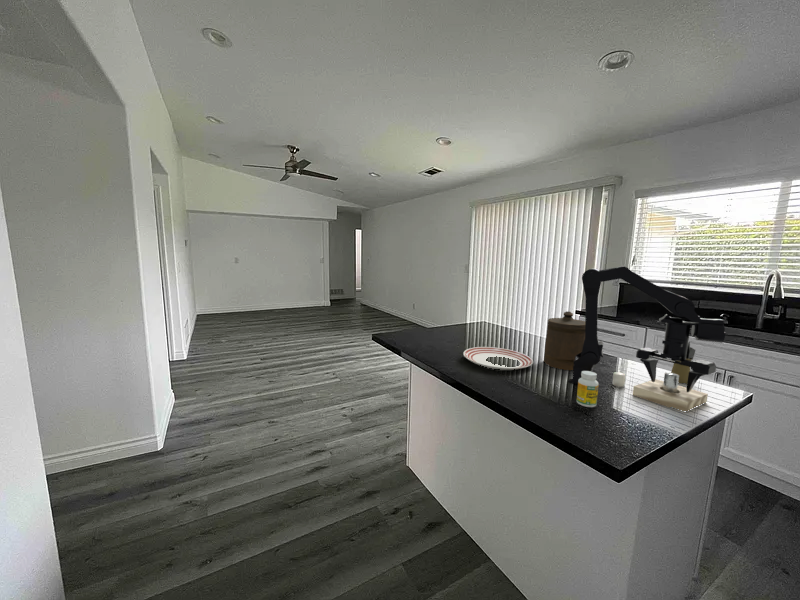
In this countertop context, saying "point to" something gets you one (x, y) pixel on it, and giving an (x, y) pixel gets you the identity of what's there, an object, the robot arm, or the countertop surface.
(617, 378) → the short cream pin
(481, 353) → the dinner plate
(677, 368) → the cork
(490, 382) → the countertop surface
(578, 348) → the wooden container
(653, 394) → the hole board
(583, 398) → the supplement bottle
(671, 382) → the tall steel pin
